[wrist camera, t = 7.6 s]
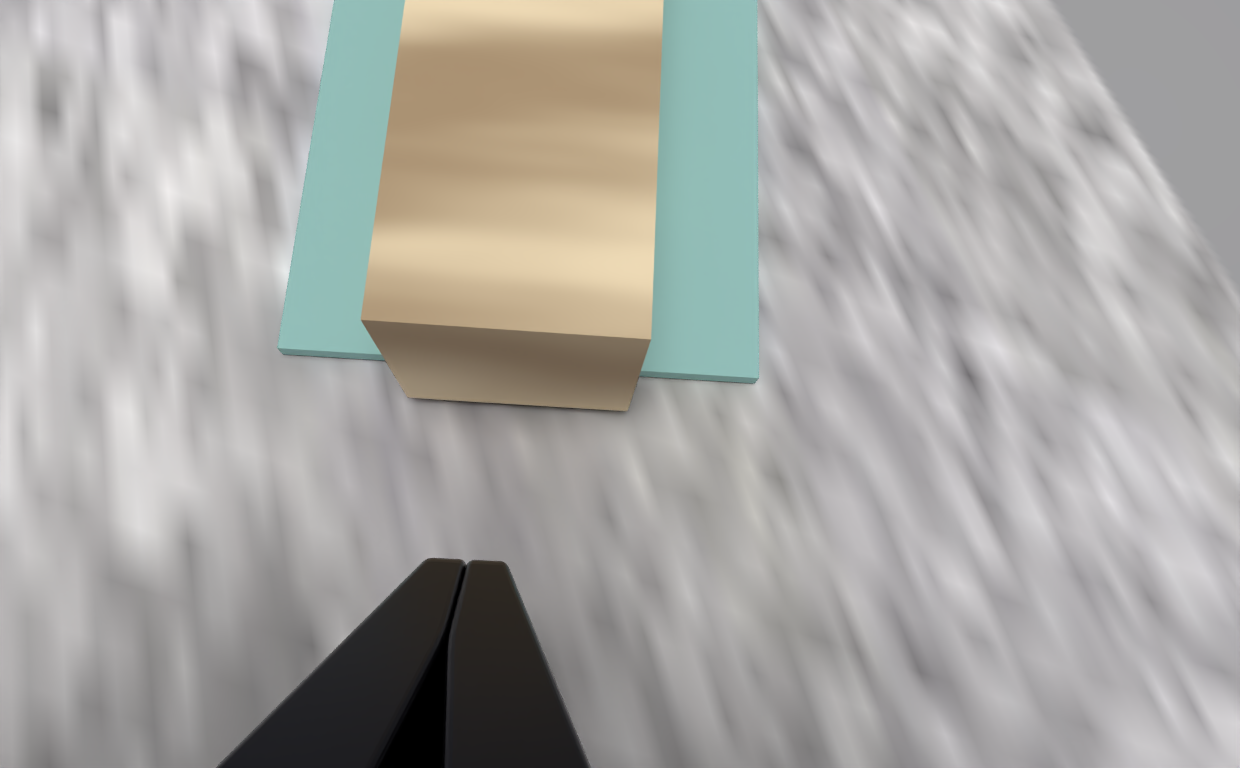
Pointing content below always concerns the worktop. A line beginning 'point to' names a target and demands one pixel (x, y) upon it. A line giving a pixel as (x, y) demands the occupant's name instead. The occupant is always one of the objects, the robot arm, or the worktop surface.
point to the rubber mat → (685, 201)
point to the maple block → (519, 202)
